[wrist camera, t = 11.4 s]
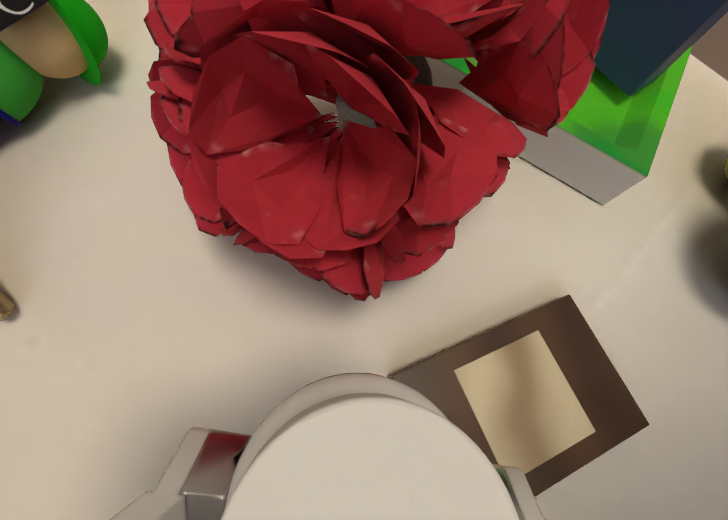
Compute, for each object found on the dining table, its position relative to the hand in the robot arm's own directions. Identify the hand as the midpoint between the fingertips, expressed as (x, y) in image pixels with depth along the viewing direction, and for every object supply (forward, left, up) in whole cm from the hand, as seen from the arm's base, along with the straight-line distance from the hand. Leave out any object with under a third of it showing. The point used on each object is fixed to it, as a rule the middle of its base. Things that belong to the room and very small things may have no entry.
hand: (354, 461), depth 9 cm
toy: (+21, -31, -14) cm, 40 cm away
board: (-13, +5, -17) cm, 22 cm away
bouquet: (-11, -17, -17) cm, 26 cm away
